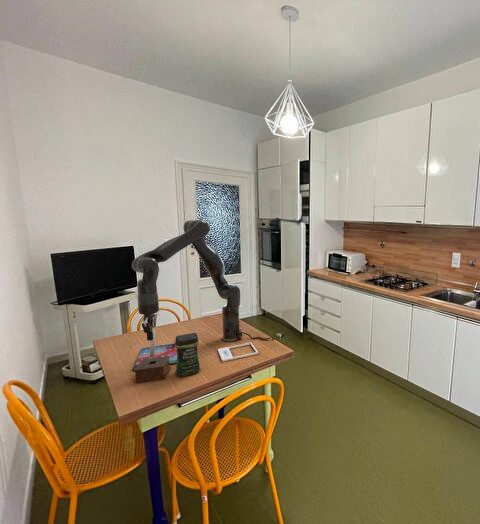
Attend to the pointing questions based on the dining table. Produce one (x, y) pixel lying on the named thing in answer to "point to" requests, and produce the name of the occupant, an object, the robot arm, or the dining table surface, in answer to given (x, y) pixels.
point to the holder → (152, 369)
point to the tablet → (158, 353)
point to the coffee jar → (187, 354)
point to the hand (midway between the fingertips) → (151, 339)
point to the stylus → (152, 345)
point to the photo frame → (227, 355)
